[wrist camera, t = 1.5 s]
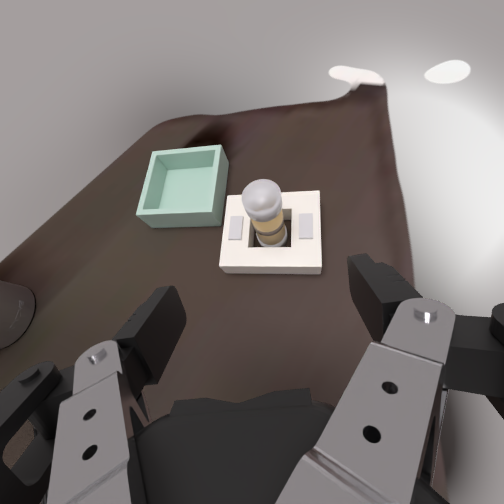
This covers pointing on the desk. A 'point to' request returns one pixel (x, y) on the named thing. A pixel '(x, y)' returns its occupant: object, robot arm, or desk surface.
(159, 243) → the desk surface
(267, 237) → the white and tan cylinder
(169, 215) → the parts tray
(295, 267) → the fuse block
